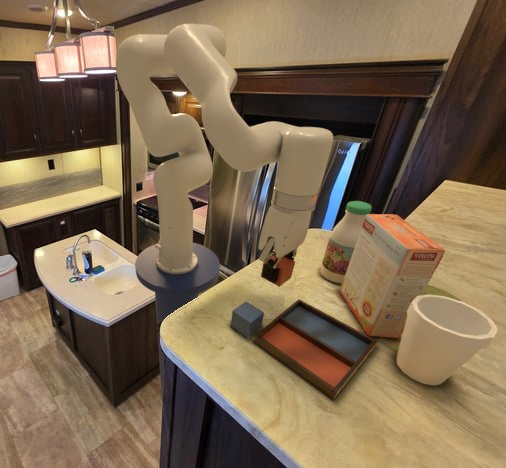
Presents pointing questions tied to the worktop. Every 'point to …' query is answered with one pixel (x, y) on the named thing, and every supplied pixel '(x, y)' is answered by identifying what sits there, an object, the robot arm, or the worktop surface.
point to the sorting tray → (316, 346)
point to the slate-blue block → (247, 319)
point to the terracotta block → (283, 270)
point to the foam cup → (441, 337)
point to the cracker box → (388, 273)
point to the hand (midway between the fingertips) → (276, 274)
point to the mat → (438, 292)
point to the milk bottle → (344, 241)
